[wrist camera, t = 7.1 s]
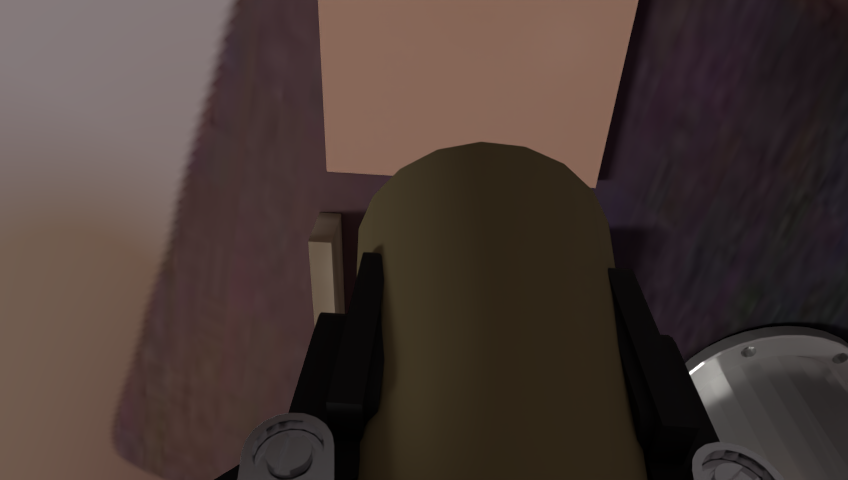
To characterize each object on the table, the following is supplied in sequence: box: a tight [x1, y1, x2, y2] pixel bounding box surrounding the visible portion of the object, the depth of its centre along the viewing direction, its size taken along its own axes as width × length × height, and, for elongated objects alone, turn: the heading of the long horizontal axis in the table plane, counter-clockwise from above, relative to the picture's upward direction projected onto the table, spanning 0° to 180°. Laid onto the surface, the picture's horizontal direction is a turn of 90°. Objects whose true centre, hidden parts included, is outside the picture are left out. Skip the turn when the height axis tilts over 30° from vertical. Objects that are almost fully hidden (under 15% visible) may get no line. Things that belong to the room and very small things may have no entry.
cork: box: [357, 142, 648, 480], centre depth 9 cm, size 6×6×11 cm
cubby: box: [308, 212, 345, 325], centre depth 35 cm, size 15×13×3 cm
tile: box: [318, 0, 638, 188], centre depth 28 cm, size 14×12×1 cm
